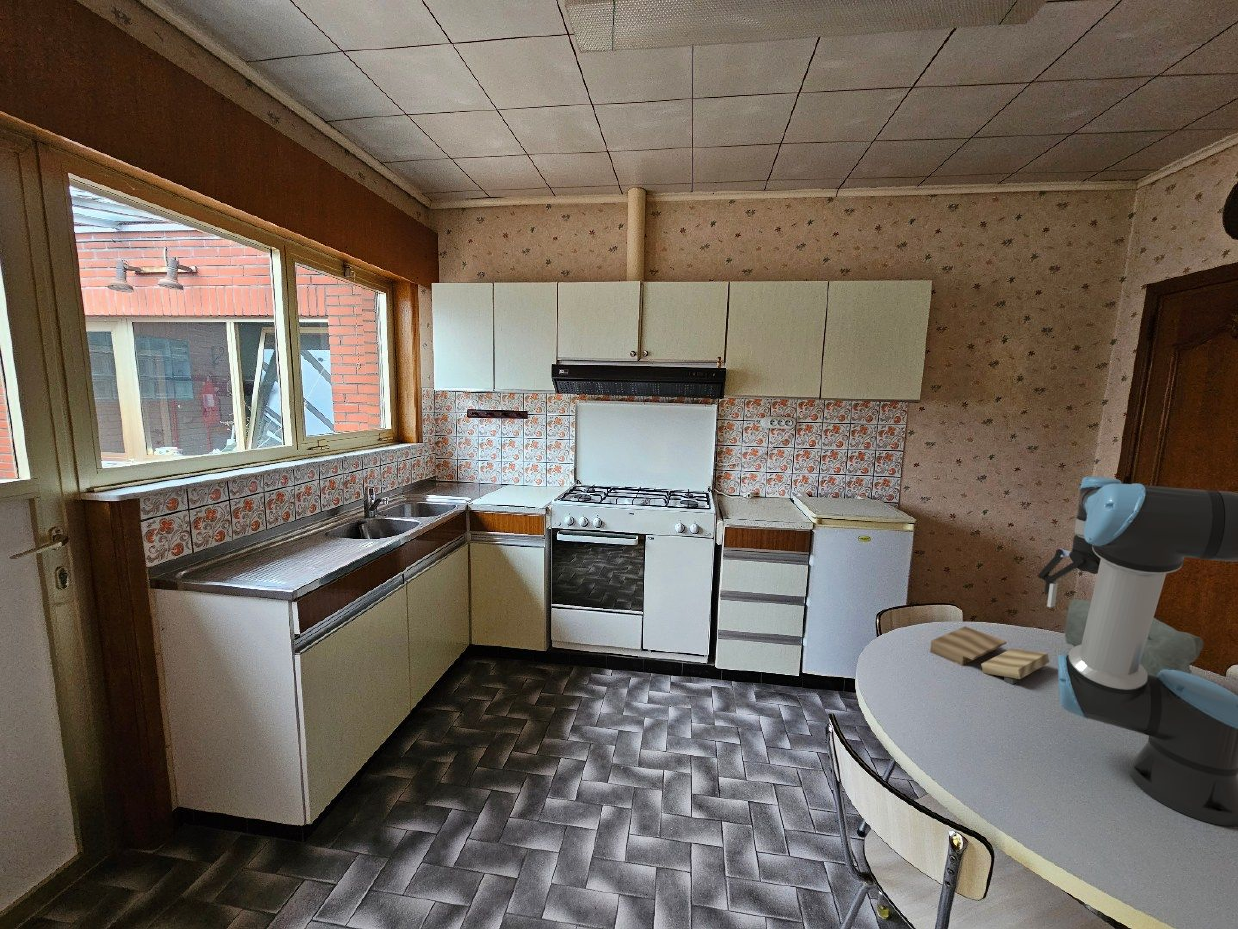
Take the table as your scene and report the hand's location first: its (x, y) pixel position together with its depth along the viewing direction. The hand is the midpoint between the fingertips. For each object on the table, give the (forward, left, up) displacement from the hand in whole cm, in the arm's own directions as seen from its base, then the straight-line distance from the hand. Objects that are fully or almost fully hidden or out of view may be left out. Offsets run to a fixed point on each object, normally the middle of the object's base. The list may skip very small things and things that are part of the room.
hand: (1082, 615), depth 131 cm
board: (-2, +24, -21) cm, 32 cm away
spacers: (-2, +10, -21) cm, 23 cm away
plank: (-2, +12, -21) cm, 25 cm away
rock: (+24, -4, -21) cm, 32 cm away
